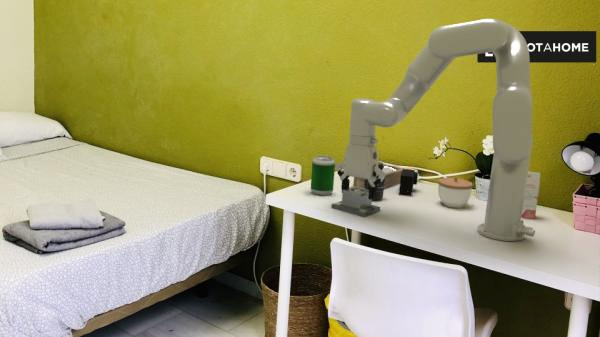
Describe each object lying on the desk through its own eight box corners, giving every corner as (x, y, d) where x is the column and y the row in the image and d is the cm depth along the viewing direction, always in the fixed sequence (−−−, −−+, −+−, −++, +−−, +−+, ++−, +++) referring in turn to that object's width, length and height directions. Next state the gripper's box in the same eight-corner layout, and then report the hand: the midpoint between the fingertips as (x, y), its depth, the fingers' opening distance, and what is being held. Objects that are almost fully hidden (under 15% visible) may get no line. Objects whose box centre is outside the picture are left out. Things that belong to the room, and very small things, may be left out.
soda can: (333, 196, 198) (335, 161, 195) (310, 195, 198) (312, 159, 195) (332, 190, 205) (335, 156, 202) (310, 189, 205) (312, 154, 202)
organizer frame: (404, 181, 222) (406, 168, 221) (376, 191, 207) (377, 177, 206) (382, 176, 228) (383, 163, 227) (353, 186, 212) (354, 172, 211)
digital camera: (414, 197, 203) (417, 177, 202) (398, 195, 205) (400, 175, 203) (416, 189, 213) (418, 170, 212) (400, 187, 214) (402, 168, 213)
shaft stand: (379, 210, 185) (381, 191, 184) (364, 217, 178) (366, 197, 177) (347, 202, 192) (348, 183, 191) (331, 207, 185) (332, 188, 184)
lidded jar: (452, 198, 204) (455, 171, 202) (476, 207, 195) (480, 179, 193) (429, 202, 198) (432, 174, 196) (453, 211, 189) (457, 182, 187)
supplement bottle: (382, 202, 195) (385, 166, 192) (361, 199, 196) (364, 164, 193) (383, 196, 201) (387, 161, 199) (363, 194, 203) (366, 159, 200)
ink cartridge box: (535, 215, 190) (542, 170, 187) (534, 219, 186) (541, 173, 182) (506, 211, 193) (513, 166, 190) (505, 215, 189) (512, 169, 185)
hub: (371, 206, 186) (372, 190, 184) (359, 210, 180) (361, 194, 179) (353, 201, 189) (354, 186, 188) (341, 205, 184) (342, 189, 183)
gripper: (393, 143, 178) (389, 198, 182) (344, 135, 188) (341, 187, 192) (380, 146, 172) (376, 203, 176) (331, 137, 182) (328, 192, 186)
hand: (358, 195), depth 184 cm, fingers open, 9 cm apart
